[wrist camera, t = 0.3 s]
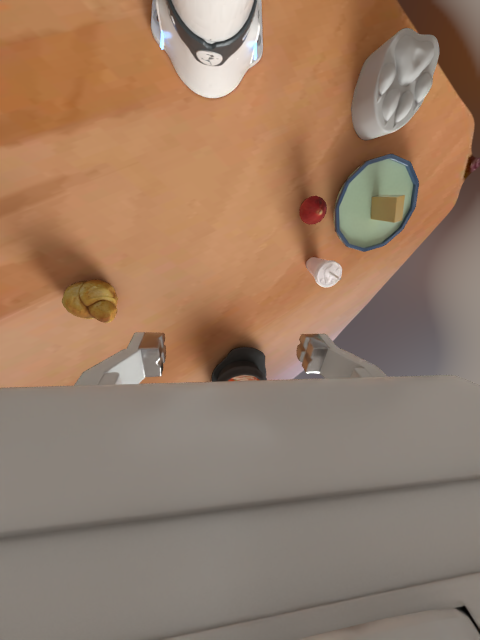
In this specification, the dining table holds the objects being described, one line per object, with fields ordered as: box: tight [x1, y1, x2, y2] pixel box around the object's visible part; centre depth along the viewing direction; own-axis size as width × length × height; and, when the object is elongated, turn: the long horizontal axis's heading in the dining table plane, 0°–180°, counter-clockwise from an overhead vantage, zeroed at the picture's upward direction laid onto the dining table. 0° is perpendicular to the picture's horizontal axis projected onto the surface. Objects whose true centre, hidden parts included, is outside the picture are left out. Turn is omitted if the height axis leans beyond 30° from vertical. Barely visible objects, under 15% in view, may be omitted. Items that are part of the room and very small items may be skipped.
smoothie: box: [306, 257, 342, 287], centre depth 55 cm, size 6×6×14 cm
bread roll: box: [62, 279, 118, 323], centre depth 54 cm, size 13×10×8 cm
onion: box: [300, 196, 327, 224], centre depth 51 cm, size 6×6×8 cm
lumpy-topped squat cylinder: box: [351, 28, 439, 140], centre depth 42 cm, size 10×13×9 cm
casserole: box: [212, 347, 267, 382], centre depth 74 cm, size 25×19×8 cm
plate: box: [334, 154, 419, 251], centre depth 51 cm, size 20×20×9 cm
